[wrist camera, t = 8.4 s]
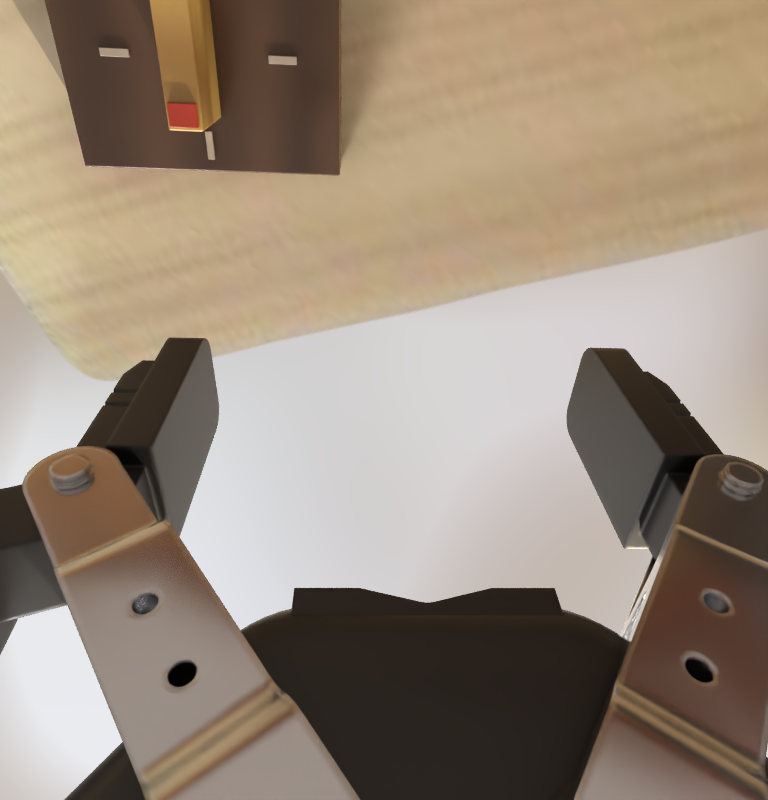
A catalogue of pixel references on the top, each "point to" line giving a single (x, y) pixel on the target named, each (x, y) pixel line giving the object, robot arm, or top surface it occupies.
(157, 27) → the red-tipped tan block
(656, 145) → the top surface
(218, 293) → the top surface
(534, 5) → the top surface
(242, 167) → the lock plate
